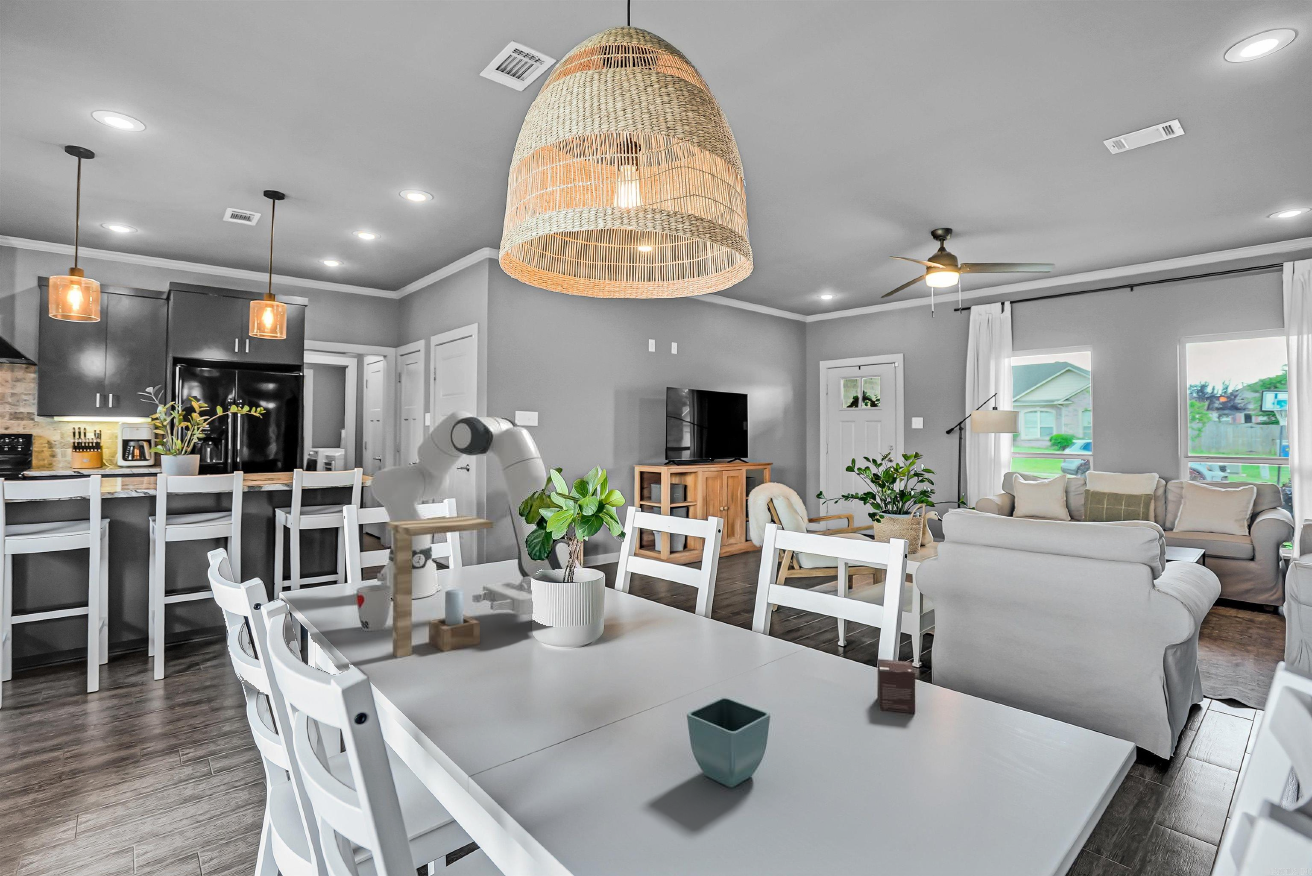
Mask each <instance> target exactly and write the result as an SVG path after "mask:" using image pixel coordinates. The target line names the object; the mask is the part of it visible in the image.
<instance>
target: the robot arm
mask: <svg viewBox="0 0 1312 876" xmlns="http://www.w3.org/2000/svg"><path fill="white" fill-rule="evenodd" d="M463 455H466V456H480V457H481V456H482V457H489V456H496V458H497V459H498V461H499V464H500V468H501V471H502V474H503V476H504V477H503V478H504V482H505V485H506V489H507V498H508V509H509V516H510V521H511V524H512V527H513V533H514V537H515V541H516V546H517V553H518V554H517V555H518V556H517V570H518V572H519V574H520V576H521V577H522V579H521V580H520V582H519V583H517V584H516V583H512V582H496V583H489V584H485V585H483V587H482V591H481V592H478V593H474V594H472V597H471V598H472V599H471V600H472V602H473V603H475V604H477V603H482V602H483V601H487V602H489V603H490V608H489V609H491V610H492V611H493V612H494V611H512V612H514V613H516V614H519V615H532V614H533V601H532V590H531V579H532V577H533V575H534V574H535V573H536V572H537V571H539V570H541V569H542V570H555V569H565V568H566V566H567V565H568V560H569V547H568V541H569V540H568V539H567V538H566V539H559V540H557V541H555V542H554V544H553V548H552V551H551V555H550V556H549V557H548V560H546V561H534V560H531V559H530V557H529V555H528V551H527V548H526V544H525V541H526V538H527V536H528V535H529V534H530V533H531V532H532V531H533V530H534V529H535V528H536V527H537V525H536V526H535V525H534V524H527V523H526V522H525V520H524V519H523V518H522V517H521V516H520V515H519V507H520V506H521V504H522V502H523V501H525V499H527V498H528V497H530V496H531V495H532V494H533V493H534V492H536V491H540V490H542V489H545V488H546V484H547V482H548V481H547V472H546V468H545V465H544V462H543V459H542V456H541V454H540V451H539V449H538V447H537V445H536V442H535V441H534V438H533V437H532V435H531V434H530V432H529V430H528V429H526V428H525V427H523V426H519V425H518V424H517V423H516V422H515V421H513V420H511V419H508V418H506V417H504V418H503V417H496V416H476V417H475V416H474V415H473V414H471V413H470V412H468V411H466V410H455V411H453V412H452V413H450V414H449V415H447V416H446V417H444V418H443V420H441V422H439V423H438V425H436V426H435V427H434V428H433V430H432V431H431V432H430V433H429V434H428V436H426V438H425V439H424V440H423V441H422V442H421V443H420V445H418V447H417V459H418V461H417V462H416V463H414V464H411V465H401V466H400V465H399V466H389V467H386V468H384V469H381V470H378V471H376V472H375V473H374V474H373V476H372V478H371V480H370V491H371V494H372V496H373V497H374V498H375V500H377V501H378V502H379V503H380V504H381V505H382V506H383V508H384V509H385V511H386V513H387V516H388V518H389V522H396V521H408V520H420V519H429V518H427V517H428V516H425V515H423V514H422V513H421V511H420V509H419V504H418V502H423V501H429V500H430V501H431V500H433V499H436V498H439V497H442V496H443V495H445V494H446V493H447V491H448V489H449V486H450V478H449V474H448V473H449V472H450V470H451V469H452V468H453V466H454V465H455V464H456V463H457V462H459V460H460V458H461V457H462V456H463ZM393 532H395V531H392V530H390V536H391V538H390V539H391V548H390V549H389V552H388V562H387V563H386V565H385V566H384V567H383V569H382V570H381V571H380V573H377V574H376V580H377V582H380V584H378V585H389V586H392V593H391V598H392V599H391V600H393ZM432 548H433V547H432V546H431V534H429V535H419V536H412V600H414V599H421V598H426V597H429V596H432V595H434V594H436V593H437V592H438V591H441V590H442V586H441V585H438V578H437V577H438V576H437V573H438V572H437V564H436V563H435V562H434V561H432V558H433V549H432ZM575 567H577V569H584V568H583V567H582V566H581V565H580V563H579V561H578V560H576V564H575ZM533 615H534V614H533Z"/></svg>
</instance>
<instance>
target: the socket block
mask: <svg viewBox="0 0 1312 876" xmlns="http://www.w3.org/2000/svg"><path fill="white" fill-rule="evenodd" d="M480 625H481V623H480V621H478V620H475V619H474V618H472V617H470V616H468V615H465V614H463V624H459V625H454V626H449V627H448V626H446V625H445V617H444V618H438V619H434V620H429V621H428V643H429V644H431V645H432V646H434V647H436V648H437V649H439V650H441V651H442V652H443V653H445V651H446V652H450V651H454V649H455V650H458V648H459V649H463V648H468V647H471V646H475V645H480V639H481V638H480V637H481V635H480V633H481V632H480V630H481V629H480V628H481V627H480Z"/></svg>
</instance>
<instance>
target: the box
mask: <svg viewBox="0 0 1312 876" xmlns="http://www.w3.org/2000/svg"><path fill="white" fill-rule="evenodd" d="M876 691H877V692H876V693H877V694H876V695H877V701H878V705H879V706H880V707H879V710H880V709H881V710H880V711H887V710H889V712H898V713H899V712H900V713H908V714H916V673H915V669H914V666H913V664H912V661H904V660H892V659H882V658H878V659H877V690H876Z"/></svg>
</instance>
